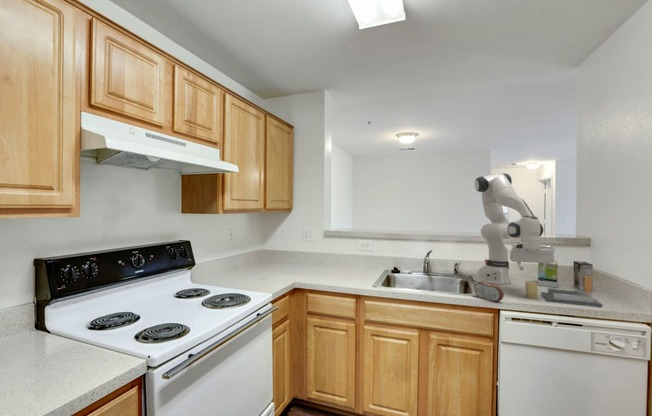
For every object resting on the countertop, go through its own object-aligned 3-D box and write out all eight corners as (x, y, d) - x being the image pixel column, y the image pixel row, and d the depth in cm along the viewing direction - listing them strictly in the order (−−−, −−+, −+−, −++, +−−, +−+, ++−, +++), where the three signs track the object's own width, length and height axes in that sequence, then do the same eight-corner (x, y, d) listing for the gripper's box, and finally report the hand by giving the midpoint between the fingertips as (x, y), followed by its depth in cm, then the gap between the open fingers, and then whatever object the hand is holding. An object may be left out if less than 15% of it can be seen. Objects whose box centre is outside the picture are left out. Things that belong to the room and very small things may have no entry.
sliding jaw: (548, 293, 164) (548, 274, 164) (547, 291, 166) (546, 273, 166) (592, 297, 156) (592, 277, 156) (590, 295, 159) (590, 276, 159)
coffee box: (573, 287, 184) (572, 261, 184) (586, 288, 181) (585, 261, 182) (579, 290, 175) (579, 263, 175) (593, 291, 173) (593, 264, 173)
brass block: (528, 298, 159) (528, 284, 160) (525, 295, 167) (525, 280, 167) (537, 299, 158) (537, 284, 158) (534, 295, 165) (533, 281, 165)
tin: (504, 302, 153) (503, 286, 153) (500, 303, 151) (500, 287, 151) (476, 295, 166) (476, 280, 166) (473, 296, 164) (473, 281, 164)
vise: (547, 301, 154) (547, 293, 154) (540, 294, 167) (540, 287, 167) (602, 307, 145) (602, 299, 145) (590, 299, 158) (590, 291, 158)
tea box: (557, 288, 181) (557, 264, 182) (537, 285, 187) (537, 262, 188) (557, 283, 193) (557, 260, 194) (538, 281, 199) (538, 259, 200)
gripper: (552, 245, 161) (553, 270, 161) (508, 244, 169) (509, 268, 169) (556, 246, 155) (556, 273, 155) (510, 245, 164) (511, 270, 163)
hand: (531, 270), depth 162 cm, fingers open, 8 cm apart
